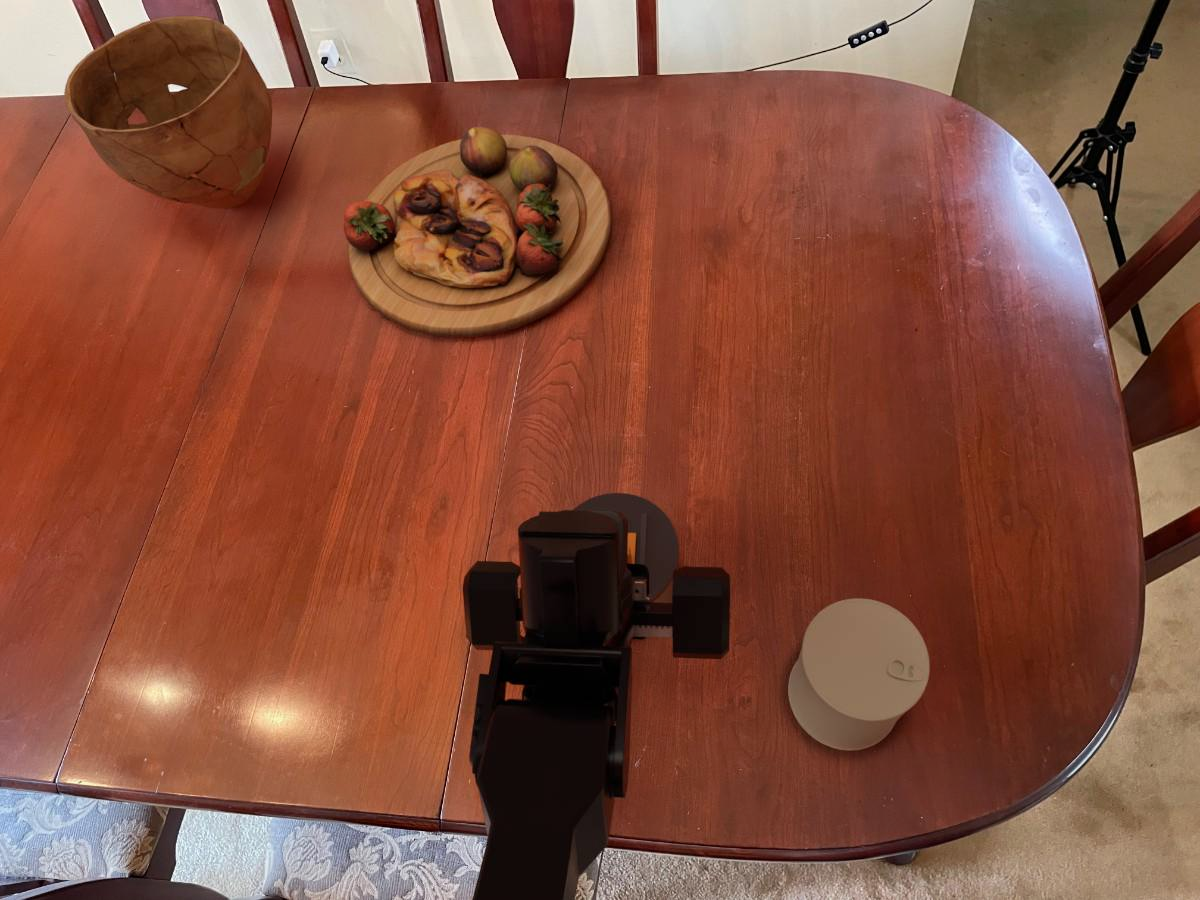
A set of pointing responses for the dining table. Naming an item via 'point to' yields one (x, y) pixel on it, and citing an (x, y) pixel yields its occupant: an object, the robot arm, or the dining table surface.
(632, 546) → the slider
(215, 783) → the dining table surface
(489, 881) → the robot arm
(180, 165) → the bowl
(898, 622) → the can
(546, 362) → the dining table surface
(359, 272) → the wooden plate
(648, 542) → the round container with rails
